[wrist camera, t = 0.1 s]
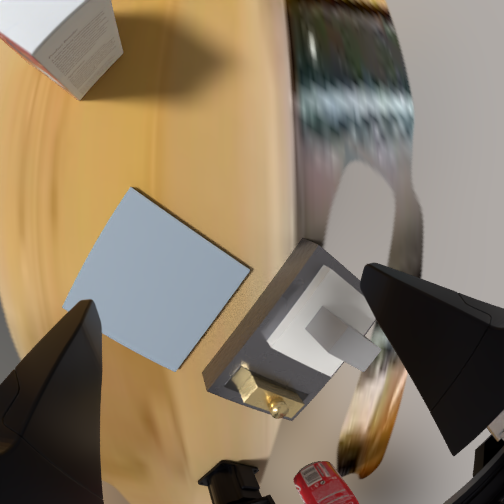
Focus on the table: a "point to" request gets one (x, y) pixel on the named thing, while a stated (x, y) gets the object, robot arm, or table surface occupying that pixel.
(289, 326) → the lid
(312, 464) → the soda can
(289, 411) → the pegged block
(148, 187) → the table surface
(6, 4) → the small box
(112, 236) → the pad
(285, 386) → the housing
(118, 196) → the table surface
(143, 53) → the table surface
